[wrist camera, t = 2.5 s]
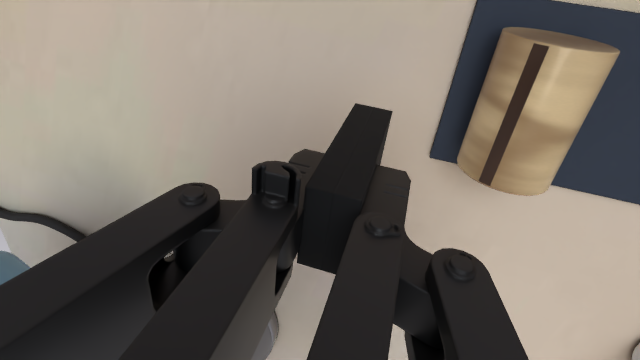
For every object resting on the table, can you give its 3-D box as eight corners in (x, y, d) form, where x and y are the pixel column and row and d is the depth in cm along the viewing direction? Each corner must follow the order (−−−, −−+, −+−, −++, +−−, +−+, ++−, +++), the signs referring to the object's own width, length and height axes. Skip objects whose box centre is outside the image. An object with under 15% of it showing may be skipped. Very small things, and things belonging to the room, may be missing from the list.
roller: (478, 143, 27) (441, 165, 23) (522, 24, 23) (486, 29, 19) (559, 176, 24) (531, 208, 20) (629, 47, 20) (609, 58, 16)
